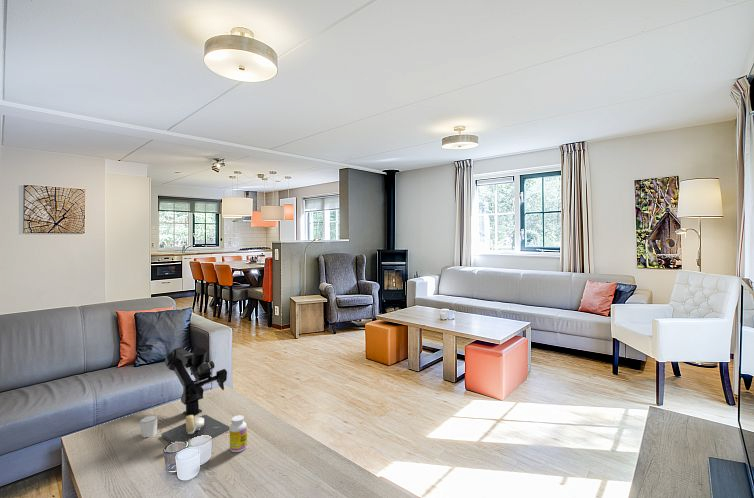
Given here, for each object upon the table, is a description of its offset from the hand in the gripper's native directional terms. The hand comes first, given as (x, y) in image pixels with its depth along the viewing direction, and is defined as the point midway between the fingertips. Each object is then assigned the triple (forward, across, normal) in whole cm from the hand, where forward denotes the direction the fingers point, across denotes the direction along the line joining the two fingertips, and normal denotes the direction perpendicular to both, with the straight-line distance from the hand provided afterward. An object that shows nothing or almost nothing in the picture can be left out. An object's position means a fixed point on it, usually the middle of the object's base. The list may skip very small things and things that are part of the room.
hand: (213, 393), depth 163 cm
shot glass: (-12, -22, +22) cm, 34 cm away
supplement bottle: (+26, 0, +9) cm, 27 cm away
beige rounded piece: (+3, -9, +13) cm, 16 cm away
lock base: (+2, -8, +17) cm, 19 cm away
